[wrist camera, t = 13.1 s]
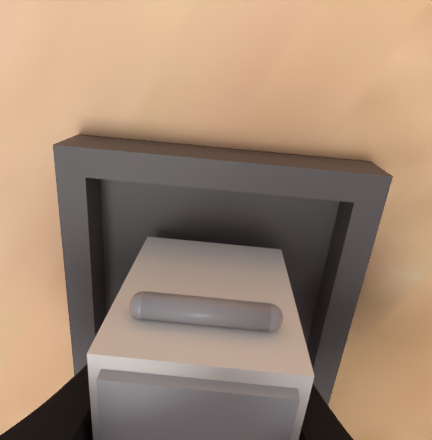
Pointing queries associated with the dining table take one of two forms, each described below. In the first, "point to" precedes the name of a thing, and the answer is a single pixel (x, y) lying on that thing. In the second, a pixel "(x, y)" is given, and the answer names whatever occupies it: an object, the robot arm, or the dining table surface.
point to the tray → (218, 225)
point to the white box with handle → (201, 348)
